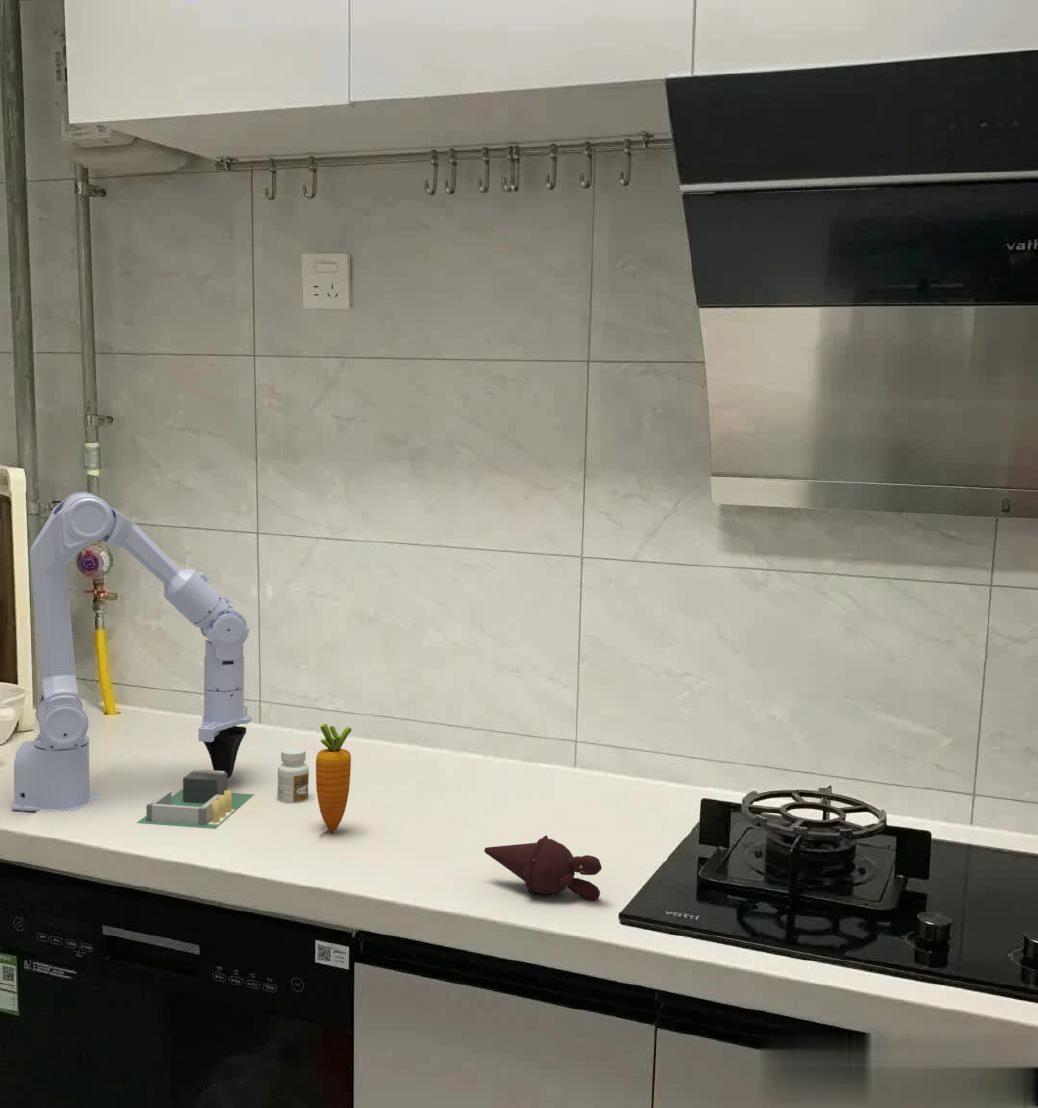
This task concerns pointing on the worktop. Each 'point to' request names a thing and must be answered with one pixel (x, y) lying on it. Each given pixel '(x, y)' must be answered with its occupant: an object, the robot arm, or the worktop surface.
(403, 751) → the worktop surface
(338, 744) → the carrot
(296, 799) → the pill bottle
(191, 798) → the plug block
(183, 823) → the header board
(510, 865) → the icecream
